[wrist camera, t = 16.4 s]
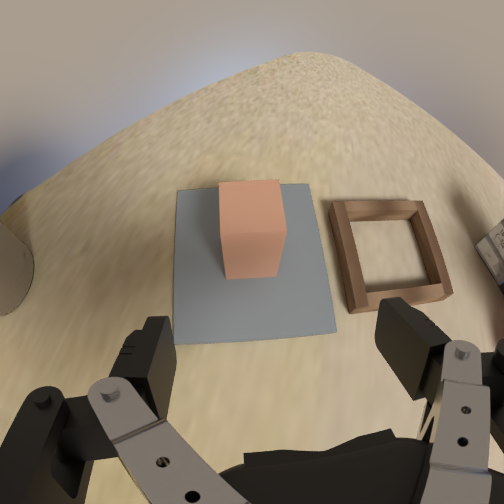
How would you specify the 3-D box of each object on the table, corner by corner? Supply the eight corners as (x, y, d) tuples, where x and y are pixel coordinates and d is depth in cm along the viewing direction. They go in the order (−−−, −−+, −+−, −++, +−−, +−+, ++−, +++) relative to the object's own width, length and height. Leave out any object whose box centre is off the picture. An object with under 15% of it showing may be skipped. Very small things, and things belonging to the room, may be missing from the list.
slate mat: (174, 344, 26) (173, 343, 26) (178, 192, 33) (177, 190, 33) (335, 332, 27) (337, 331, 27) (308, 186, 34) (308, 183, 34)
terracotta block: (226, 279, 29) (220, 234, 21) (224, 235, 31) (218, 182, 23) (276, 276, 29) (287, 230, 22) (271, 233, 31) (279, 179, 24)
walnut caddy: (349, 314, 28) (356, 307, 26) (328, 212, 33) (332, 201, 31) (443, 300, 28) (453, 293, 26) (415, 210, 33) (422, 200, 31)
